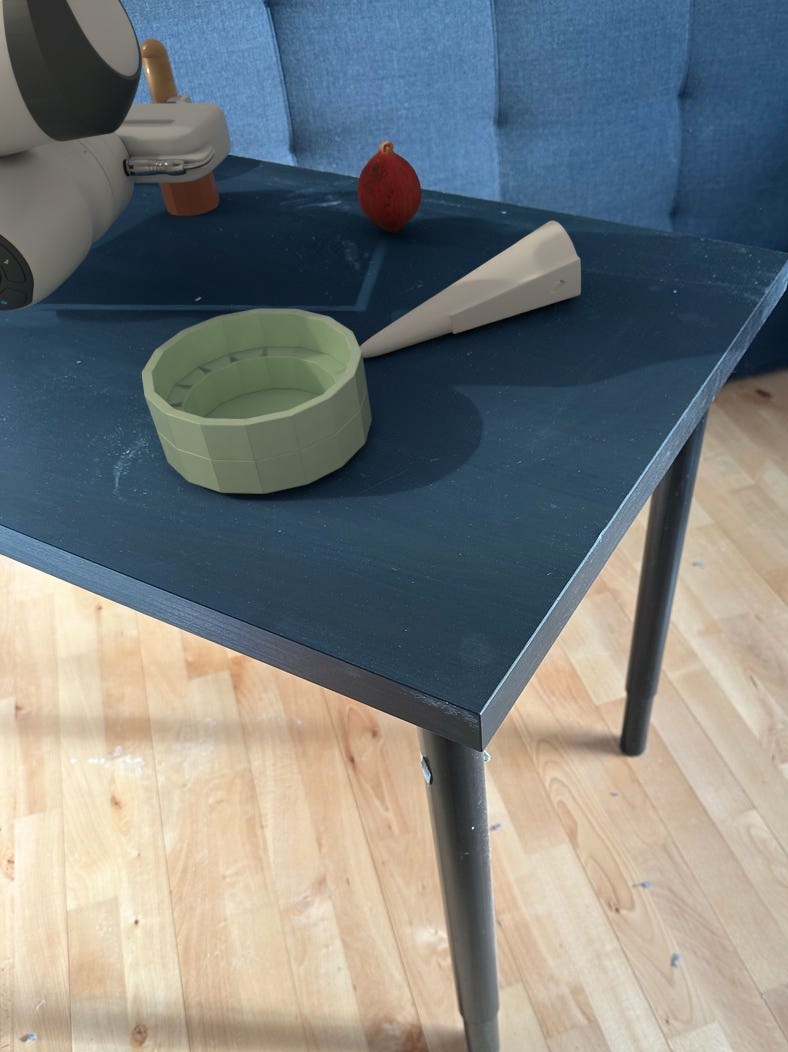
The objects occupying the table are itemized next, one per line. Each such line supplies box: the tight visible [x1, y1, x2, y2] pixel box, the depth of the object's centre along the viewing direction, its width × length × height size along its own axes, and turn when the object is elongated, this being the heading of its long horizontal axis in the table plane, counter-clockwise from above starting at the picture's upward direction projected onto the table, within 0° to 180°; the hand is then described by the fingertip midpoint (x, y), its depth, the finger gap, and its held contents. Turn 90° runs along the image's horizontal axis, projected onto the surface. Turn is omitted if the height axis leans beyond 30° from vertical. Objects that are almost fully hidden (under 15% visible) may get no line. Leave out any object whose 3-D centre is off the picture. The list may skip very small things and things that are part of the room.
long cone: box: [359, 220, 582, 359], centre depth 76 cm, size 6×6×19 cm
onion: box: [357, 140, 422, 234], centre depth 86 cm, size 6×6×8 cm
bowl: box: [141, 308, 373, 495], centre depth 65 cm, size 14×14×6 cm
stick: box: [140, 37, 179, 104], centre depth 88 cm, size 2×2×14 cm
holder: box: [158, 169, 220, 217], centre depth 91 cm, size 5×5×7 cm
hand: (130, 106), depth 80 cm, fingers open, 8 cm apart
